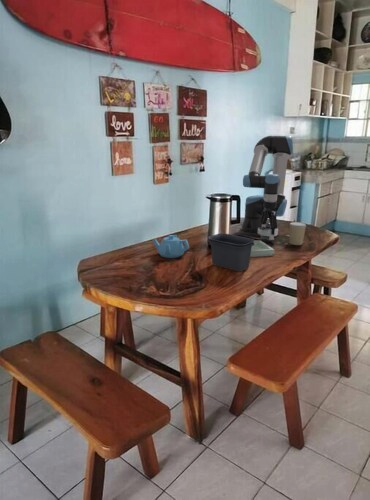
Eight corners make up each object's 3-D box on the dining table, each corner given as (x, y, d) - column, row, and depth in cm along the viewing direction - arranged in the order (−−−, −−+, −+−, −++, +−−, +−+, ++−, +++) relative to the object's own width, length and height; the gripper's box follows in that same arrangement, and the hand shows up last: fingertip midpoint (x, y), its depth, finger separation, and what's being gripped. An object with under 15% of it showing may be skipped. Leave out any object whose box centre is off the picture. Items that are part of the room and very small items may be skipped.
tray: (229, 247, 213) (229, 241, 212) (259, 245, 217) (260, 240, 216) (240, 257, 195) (241, 251, 194) (274, 255, 199) (274, 249, 198)
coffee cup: (302, 241, 226) (304, 222, 223) (305, 245, 217) (307, 225, 214) (286, 240, 227) (288, 221, 223) (289, 245, 218) (291, 225, 215)
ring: (255, 232, 227) (255, 226, 226) (272, 231, 229) (272, 225, 228) (262, 236, 217) (263, 230, 216) (280, 235, 219) (280, 230, 218)
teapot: (166, 261, 188) (166, 240, 185) (151, 253, 200) (151, 234, 197) (190, 256, 196) (191, 236, 193) (175, 249, 208) (175, 230, 205)
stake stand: (258, 240, 227) (259, 222, 224) (270, 239, 229) (271, 221, 226) (263, 244, 220) (265, 225, 216) (275, 243, 222) (277, 224, 218)
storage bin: (204, 264, 184) (205, 237, 179) (222, 257, 195) (223, 231, 190) (240, 275, 170) (242, 245, 166) (258, 267, 181) (260, 239, 177)
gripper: (256, 197, 227) (253, 232, 234) (273, 204, 205) (269, 242, 212) (267, 197, 229) (265, 231, 235) (285, 204, 207) (281, 242, 213)
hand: (267, 237), depth 224 cm, fingers closed on ring, 11 cm apart
